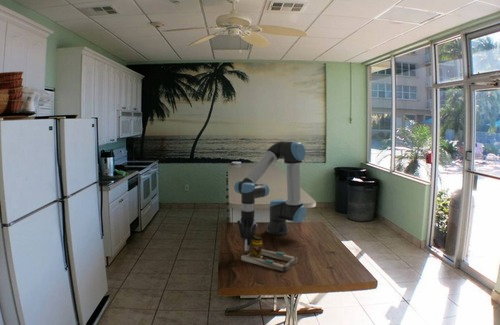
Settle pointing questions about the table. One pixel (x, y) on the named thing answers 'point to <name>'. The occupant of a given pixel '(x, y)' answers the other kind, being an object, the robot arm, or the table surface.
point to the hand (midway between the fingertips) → (246, 250)
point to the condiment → (256, 247)
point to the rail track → (271, 263)
